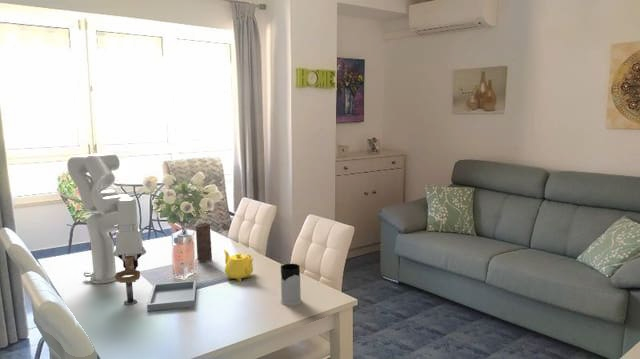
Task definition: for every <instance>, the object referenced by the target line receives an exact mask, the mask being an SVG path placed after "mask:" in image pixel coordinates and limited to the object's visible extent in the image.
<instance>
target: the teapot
mask: <svg viewBox="0 0 640 359" xmlns="http://www.w3.org/2000/svg"><path fill="white" fill-rule="evenodd" d="M223 251H224V254H225V266H224V273H225V275H226V276H227V279H230V280H231V279H236V282H242V279H243V278H244V279H245V278H250V277H251V274H252V273H253V272H254V268H253V260H254V259H255V257H253V258H252V255H251V254H249V253H248V254H242V253H241V252H238V253H235V254H234V255H232V256H230V254H229V252H228V251H227V250H226V249H225V250H223Z"/></svg>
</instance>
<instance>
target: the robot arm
mask: <svg viewBox="0 0 640 359" xmlns="http://www.w3.org/2000/svg"><path fill="white" fill-rule="evenodd" d="M120 162H121V161H120V160H119V157H118V156H117V154H116V153H114V152H101V153H92V154H91V153H90V154H79V155H76V156H75V155H74V156H72V157H70V158H69V159H68V161H67V163H66V164H67V165H66V166H67V171H68V175H69V176H70V178H71V180H72V181H73V183H74V184H75V186H76V188H77V190H78V193H79V195H80V198H81V201H82V205H83V207H84V210H85V211H86V212H88V213H94V214H91V215H89V216H88V217H87V219H86V227H87V228H86V229H87V231H88V234H89V241H90V248H91V259H92V260H91V262H92V269H93V270H91V271H84V272H83V276H84V277H85V278H90V279H89V280H90V282H91V283H92V284H97V285H99V284H100V285H101V284H110V283H113V282H116V281H115V275H116V273H117V268H116V257H117V258H118V259H120V260H121V261H122V266H123V268H124V270H126V268H125V257H126V255H132V254H134V270H137V268H138V266H139V259H140V257H142V256H144V255H145V254H146V253H147V249H145V247H144V246H143V239H142V234H141V230H140V228H139V225H138V210H137V209H138V208H137V199H135V198H134V197H131V195H129V194H126V193H122V194H119V193H118V192H117V191H116V190H114V189H108V188H110V187H111V186H112V185H114V183H115V181H116V177H115V175H114V173H113V172H112V171H117V170H119V169H120ZM87 173H88V174H87ZM111 232H116V234H115V245H114V240H113V239H112V237H111V236H109V235H108V233H111Z"/></svg>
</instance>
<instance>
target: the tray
mask: <svg viewBox="0 0 640 359" xmlns="http://www.w3.org/2000/svg"><path fill="white" fill-rule="evenodd" d="M196 295H197V280H196V279H195V280H186V281H185V280H183V281H176V282H175V281H174V282H163V283H162V282H161V283H154V284H153V286H152V288H151V290H150V295H149V298H148V300H147V303H146V310H147V313H150V312H151V313H152V312H162V311H172V310H180V309H191V308H192V309H193V308H195V307H196V306H195V305H196V297H197V296H196Z"/></svg>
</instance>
